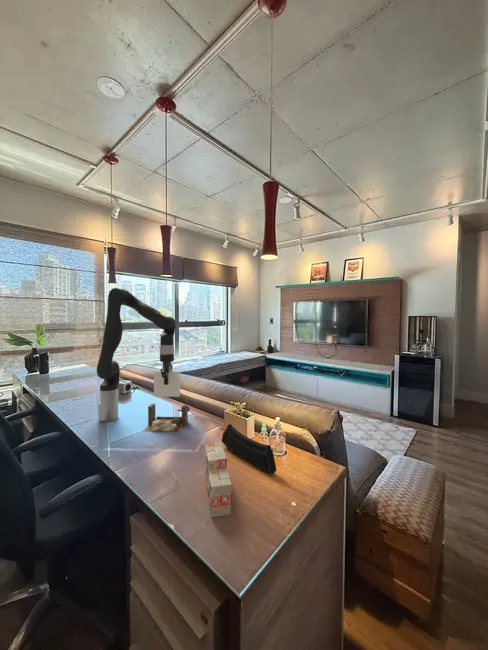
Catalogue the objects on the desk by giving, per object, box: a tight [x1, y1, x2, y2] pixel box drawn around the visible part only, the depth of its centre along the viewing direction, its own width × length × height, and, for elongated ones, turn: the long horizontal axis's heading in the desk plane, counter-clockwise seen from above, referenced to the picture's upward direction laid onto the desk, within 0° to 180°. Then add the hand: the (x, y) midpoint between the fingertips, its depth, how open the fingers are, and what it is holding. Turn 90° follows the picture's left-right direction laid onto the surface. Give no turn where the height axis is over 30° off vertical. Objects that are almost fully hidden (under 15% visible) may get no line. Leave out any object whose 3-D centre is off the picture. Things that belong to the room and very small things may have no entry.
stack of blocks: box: [204, 441, 233, 518], centre depth 89 cm, size 21×6×12 cm, turn 13°
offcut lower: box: [150, 424, 177, 432], centre depth 138 cm, size 12×4×2 cm, turn 88°
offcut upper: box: [152, 420, 172, 427], centre depth 138 cm, size 9×4×2 cm, turn 88°
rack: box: [142, 403, 189, 433], centre depth 141 cm, size 20×14×11 cm
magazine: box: [221, 423, 277, 475], centre depth 110 cm, size 17×3×30 cm
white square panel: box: [153, 369, 181, 398], centre depth 148 cm, size 14×2×14 cm, turn 87°
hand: (166, 383), depth 148 cm, fingers closed on white square panel, 2 cm apart
